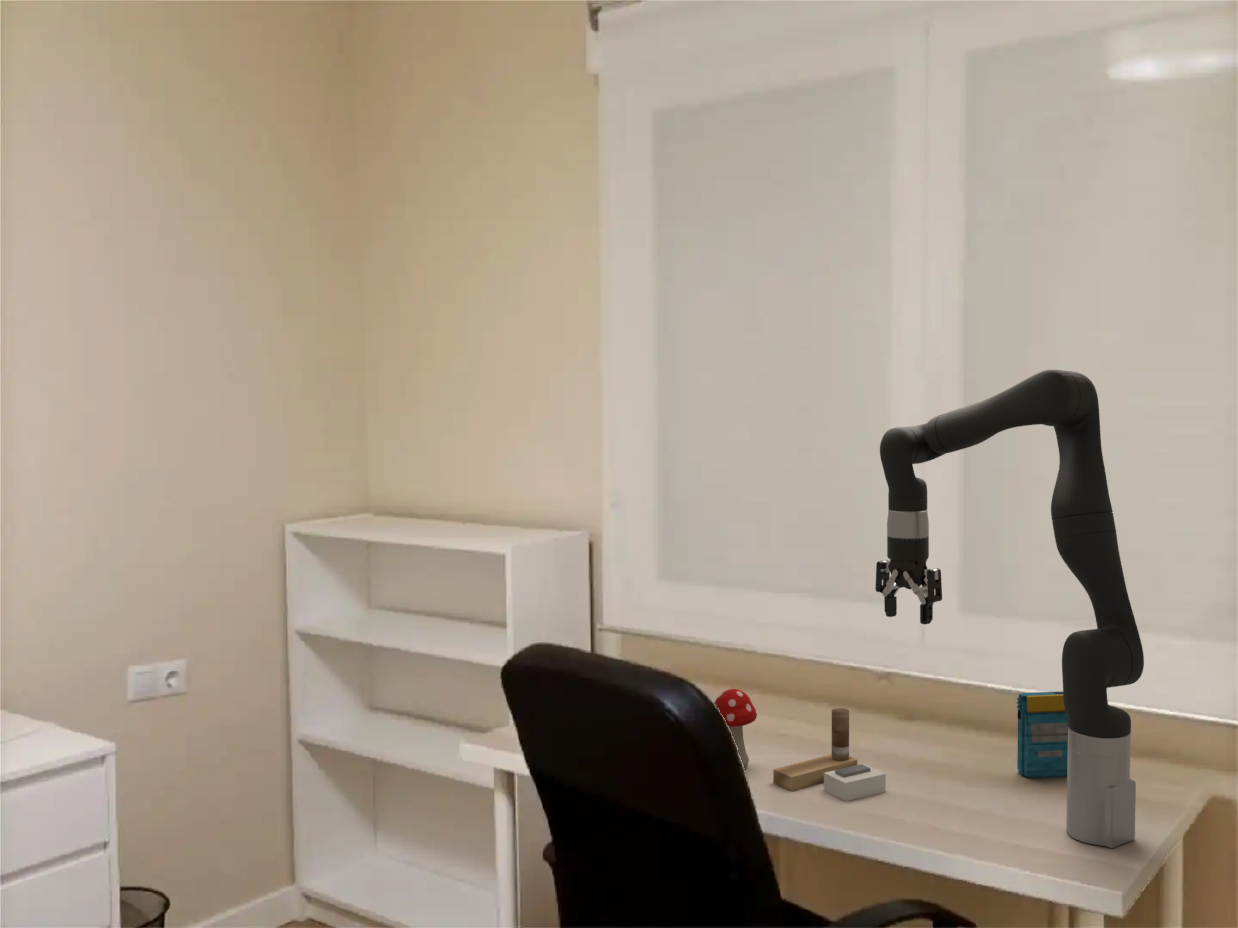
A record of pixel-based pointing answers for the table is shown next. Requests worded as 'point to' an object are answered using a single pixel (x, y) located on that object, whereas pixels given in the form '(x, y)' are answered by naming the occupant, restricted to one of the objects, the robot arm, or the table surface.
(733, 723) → the decorative mushroom
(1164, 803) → the table surface
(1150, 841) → the table surface
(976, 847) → the table surface
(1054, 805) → the table surface
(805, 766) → the batten
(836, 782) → the block
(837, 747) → the brown cylinder
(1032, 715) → the handheld gaming console
